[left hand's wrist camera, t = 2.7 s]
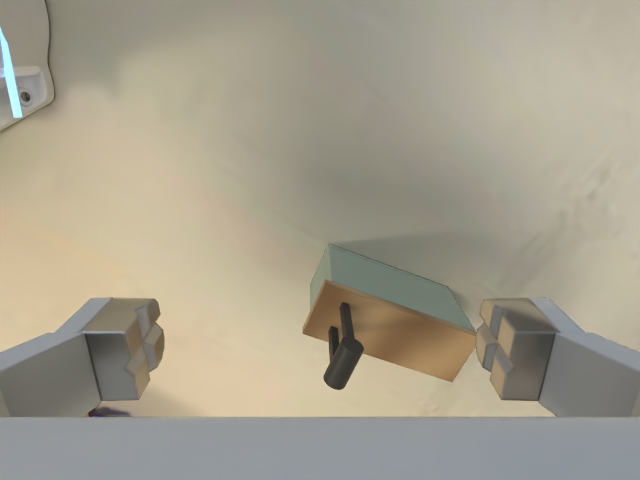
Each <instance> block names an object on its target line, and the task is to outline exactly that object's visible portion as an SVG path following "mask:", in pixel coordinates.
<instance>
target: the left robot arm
mask: <svg viewBox="0 0 640 480" xmlns="http://www.w3.org/2000/svg"><path fill="white" fill-rule="evenodd" d="M48 46H49V20H48V13H47V9H46V5H45V1H44V0H0V131H2V130H4V129H5V128H7V127H9V126H11V125H12V124H14V123H16V122H18V121H19V120H21V119H23V118H25V117H27V116H28V115H30V114H32V113H34V112H35V111H37V110H39V109H41V108H42V107H44V106H46V105H48V104H49V103H51V102H52V100H53V98H54V86H53V81H52V77H51V74H50V71H49V67H48V60H47V58H48ZM26 92H27V93H28V94H29V95H30V100H27V98H26V96H25V94H26ZM159 316H160V309H159V304H158V302H157V301H156V300H155V299H150V298H113V297H110V298H91V299H90V300H89V301H88V302H87V303H85V304H84V305H83V306H82V307H81V308H80V309H79V310H78V311H77V312H76V313H75V314H74V315H73V316H72V317H71V318H70V319H69V320H68V321H66V322H65V323H64V324H63V325H62V326H61V327H60V328H59V329H58V330H57V331H56V332H55V333H46V334H44V335H42V336H39V337H37V338H34V339H32V340H30V341H27V342H25V343H22V344H20V345H18V346H15V347H13V348H10V349H8V350H5V351H3V352H1V353H0V480H640V353H639V352H637V351H634V350H632V349H630V348H627V347H625V346H622V345H620V344H618V343H615V342H613V341H610V340H608V339H606V338H603V337H601V336H598V335H596V334H594V333H585V332H584V331H583V330H582V329H581V328H580V327H579V326H578V325H577V324H576V323H575V322H574V321H573V320H572V319H570V318H569V317H568V316H567V315H566V314H565V313H564V312H563V311H562V310H561V309H560V308H559V307H558V306H557V305H556V304H555V303H554V302H553V301H551V300H550V299H548V298H545V297H541V298H500V299H484V300H483V302H482V305H481V309H480V316H481V317H482V319H483V321H484V323H483V324H482V325H481V326H480V327H479V328H478V329H477V333H476V341H475V342H476V353H477V356H478V359H479V361H480V363H481V365H482V367H483V368H485V369H486V370H488V371H489V372H491V376H490V381H491V383H492V385H493V386H494V388H495V390H496V392H497V393H498V395H499V397H500V399H501V400H521V401H539V403H540V404H541V405H542V406H544V407H545V408H546V409H548V410H549V411H550V412H552V413H553V414H554V415H556V416H557V417H83V416H84V415H86V414H87V413H88V412H90V411H91V410H92V409H94V408H95V407H96V406H98V405H99V404H100V403H101V401H118V400H139V399H140V397H141V395H142V393H143V392H144V390H145V388H146V386H147V385H148V383H149V381H150V376H149V372H151V371H152V370H154V369H155V368H157V367H158V365H159V363H160V361H161V359H162V355H163V351H164V333H163V329H162V328H161V327H160V326H159V325H158V324H157V323H156V321H157V319H158V317H159Z"/></svg>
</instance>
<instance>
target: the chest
mask: <svg viewBox="0 0 640 480" xmlns="http://www.w3.org/2000/svg"><path fill="white" fill-rule="evenodd" d="M324 279H327V280H330V281H333V282H335V283H338V284H341V285H344V286H347V287H350V288H353V289H355V290H358V291H361V292H364V293H367V294H370V295H373V296H375V297H378V298H381V299H384V300H387V301H390V302H393V303H395V304H398V305H401V306H404V307H407V308H410V309H413V310H415V311H418V312H421V313H424V314H427V315H430V316H433V317H435V318H438V319H441V320H444V321H447V322H450V323H453V324H455V325H458V326H461V327H464V328H467V329H470V330H473V331H475V332H476V330H475V329H474V327H473V326H472V324H471V322H470V321H469V319H468V318H467V316H466V315H465V313H464V312H463V310H462V308H461V307H460V305H459V304H458V302H457V301H456V299H455V297H454V296H453V294H452V293H451V291H450V290H449V288H448V287H446V286H443V285H440V284H438V283H435V282H432V281H429V280H427V279H424V278H421V277H418V276H416V275H413V274H410V273H407V272H405V271H402V270H399V269H397V268H394V267H391V266H388V265H386V264H383V263H380V262H377V261H375V260H372V259H369V258H366V257H364V256H361V255H358V254H355V253H353V252H350V251H347V250H344V249H342V248H339V247H336V246H333V245H331V244H328V246H327V248H326V250H325V253H324V255H323V257H322V259H321V262H320V264H319V266H318V269H317V271H316V273H315V275H314V278H313V280H312V282H311V285H310V311H311V308H312V306H313V304H314V302H315V299H316V297H317V295H318V293H319V290H320V288H321V286H322V284H323V282H324Z"/></svg>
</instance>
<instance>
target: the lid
mask: <svg viewBox="0 0 640 480" xmlns="http://www.w3.org/2000/svg"><path fill="white" fill-rule="evenodd" d="M476 333H477V332H475V331H473V330H470V329H467V328H464V327H461V326H458V325H455V324H453V323H450V322H447V321H444V320H441V319H438V318H435V317H433V316H430V315H427V314H424V313H421V312H418V311H415V310H413V309H410V308H407V307H404V306H401V305H398V304H395V303H393V302H390V301H387V300H384V299H381V298H378V297H375V296H373V295H370V294H367V293H364V292H361V291H358V290H355V289H353V288H350V287H347V286H344V285H341V284H338V283H335V282H333V281H330V280H327V279H324V282H323V284H322V286H321V288H320V290H319V293H318V295H317V297H316V299H315V302H314V304H313V306H312V308H311V311H310V313H309V315H308V317H307V319H306V322H305V324H304V326H303V334H305V335H308V336H311V337H314V338H317V339H321V340H324V341H327V342H329V353H330V364H329V366H328V368H327V370H326V372H325V374H324V381H325V382H326V384H327V385H328V386H330V387H331V388H333V389H337V390H341V389H343V388H344V387H345V385H346V384H347V382H348V380H349V378H350V376H351V374H352V372H353V370H354V368H355V366H356V365H357V363H358V361H359V359H360V357H361V355H362V353H364V354H367V355H370V356H373V357H376V358H379V359H382V360H385V361H388V362H391V363H394V364H397V365H401V366H404V367H407V368H410V369H413V370H416V371H419V372H422V373H425V374H428V375H431V376H434V377H437V378H440V379H444V380H447V381H450V382H453V380H454V379H455V377H456V376H457V374H458V373H459V371H460V369H461V368H462V366H463V365H464V363H465V362H466V360H467V359H468V357H469V355H470V354H471V352H472V351H473V349H474V348H475V346H476V342H475V341H476Z"/></svg>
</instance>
